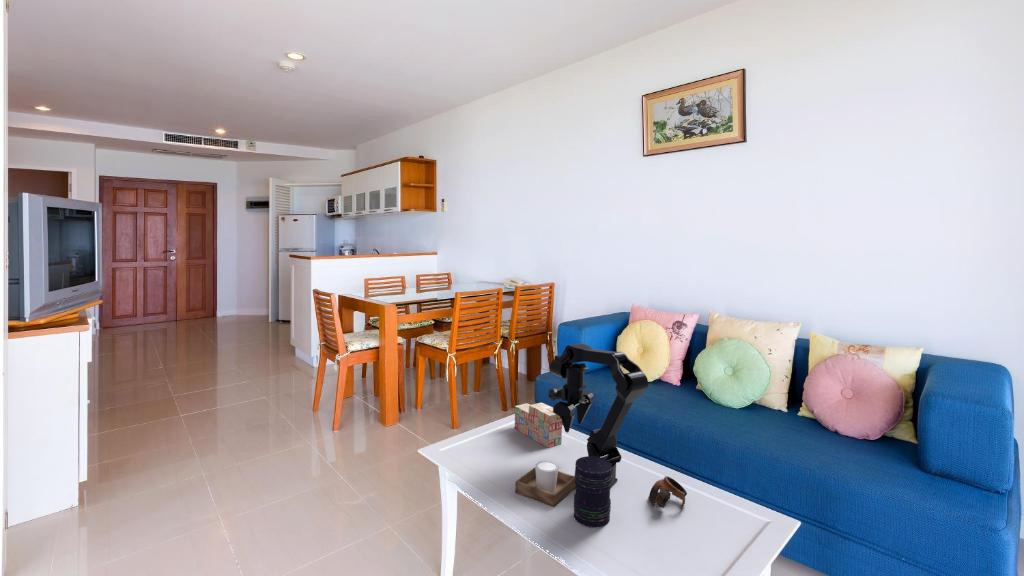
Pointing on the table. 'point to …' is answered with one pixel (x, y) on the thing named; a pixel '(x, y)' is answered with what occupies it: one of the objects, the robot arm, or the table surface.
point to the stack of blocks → (539, 423)
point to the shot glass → (546, 475)
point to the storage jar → (592, 491)
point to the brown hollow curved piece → (666, 492)
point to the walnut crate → (529, 489)
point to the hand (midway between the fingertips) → (573, 427)
